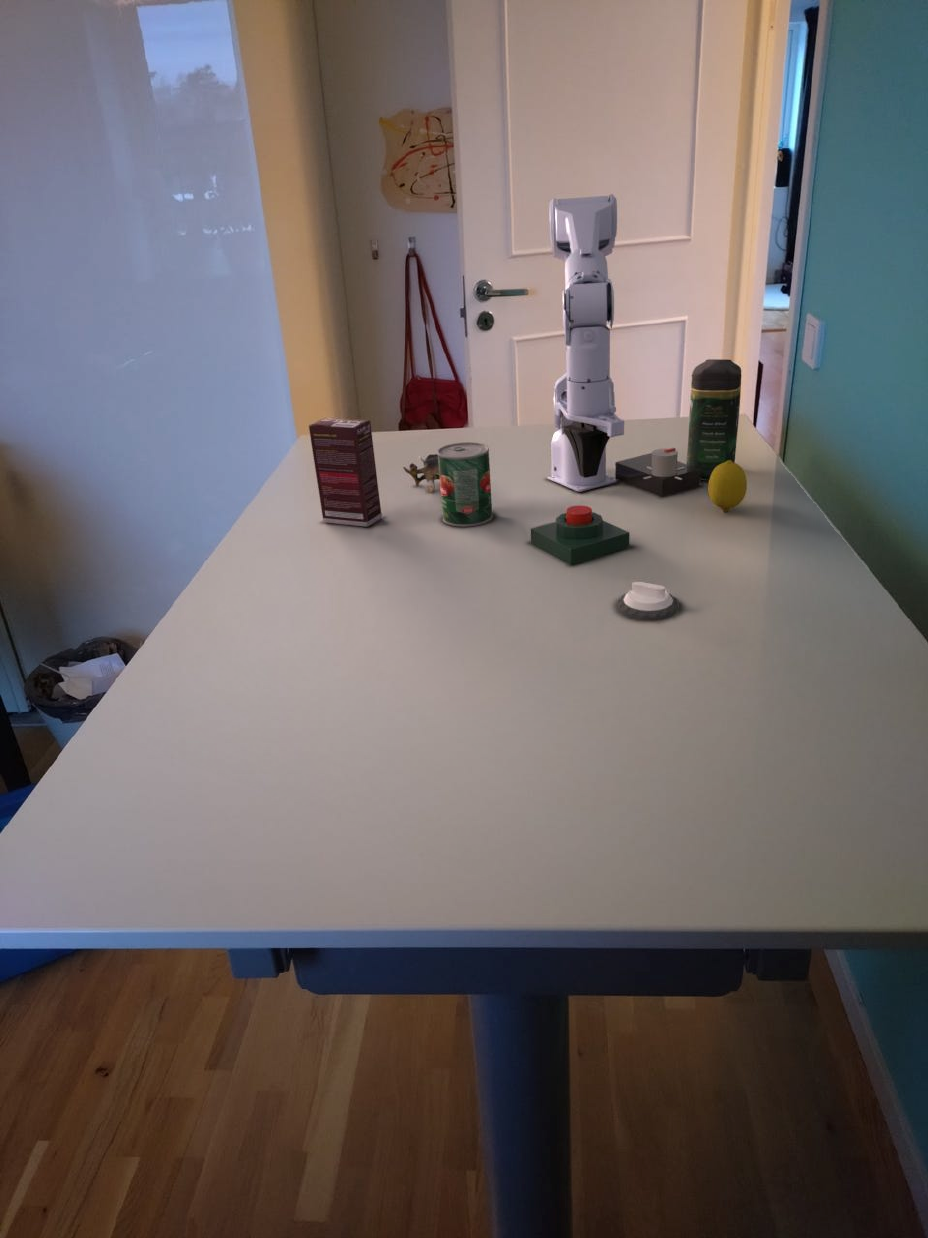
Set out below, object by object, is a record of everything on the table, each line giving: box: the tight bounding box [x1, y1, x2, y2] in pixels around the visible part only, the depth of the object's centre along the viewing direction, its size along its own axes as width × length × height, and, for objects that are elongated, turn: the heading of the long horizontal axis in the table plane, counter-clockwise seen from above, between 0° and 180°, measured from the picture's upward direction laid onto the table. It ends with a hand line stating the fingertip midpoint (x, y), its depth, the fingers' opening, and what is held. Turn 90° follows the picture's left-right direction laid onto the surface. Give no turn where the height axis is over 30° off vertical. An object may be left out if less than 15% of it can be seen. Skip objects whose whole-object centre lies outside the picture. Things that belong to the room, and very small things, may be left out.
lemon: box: [707, 460, 748, 513], centre depth 134 cm, size 6×6×8 cm
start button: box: [565, 504, 593, 525], centre depth 126 cm, size 4×4×2 cm
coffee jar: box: [686, 358, 742, 481], centre depth 148 cm, size 10×8×19 cm
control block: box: [530, 511, 630, 566], centre depth 127 cm, size 10×10×4 cm
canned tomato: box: [436, 441, 494, 528], centre depth 138 cm, size 8×8×11 cm
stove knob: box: [617, 581, 680, 622], centre depth 108 cm, size 7×7×3 cm
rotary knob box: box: [614, 452, 701, 498], centre depth 148 cm, size 14×10×3 cm
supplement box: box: [308, 417, 382, 528], centre depth 140 cm, size 9×5×16 cm, turn 65°
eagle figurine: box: [403, 453, 440, 493], centre depth 153 cm, size 8×7×9 cm
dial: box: [651, 447, 679, 477], centre depth 143 cm, size 4×4×4 cm
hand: (588, 475), depth 126 cm, fingers closed
